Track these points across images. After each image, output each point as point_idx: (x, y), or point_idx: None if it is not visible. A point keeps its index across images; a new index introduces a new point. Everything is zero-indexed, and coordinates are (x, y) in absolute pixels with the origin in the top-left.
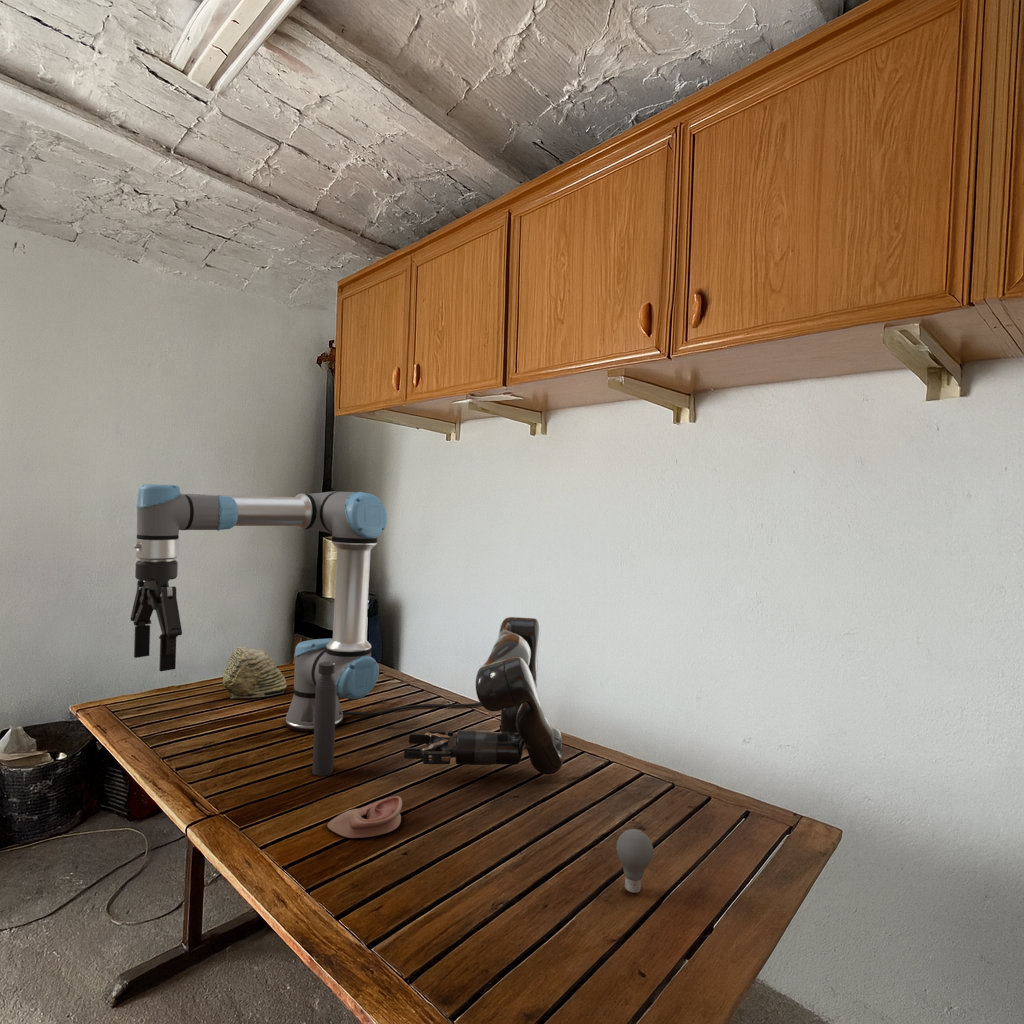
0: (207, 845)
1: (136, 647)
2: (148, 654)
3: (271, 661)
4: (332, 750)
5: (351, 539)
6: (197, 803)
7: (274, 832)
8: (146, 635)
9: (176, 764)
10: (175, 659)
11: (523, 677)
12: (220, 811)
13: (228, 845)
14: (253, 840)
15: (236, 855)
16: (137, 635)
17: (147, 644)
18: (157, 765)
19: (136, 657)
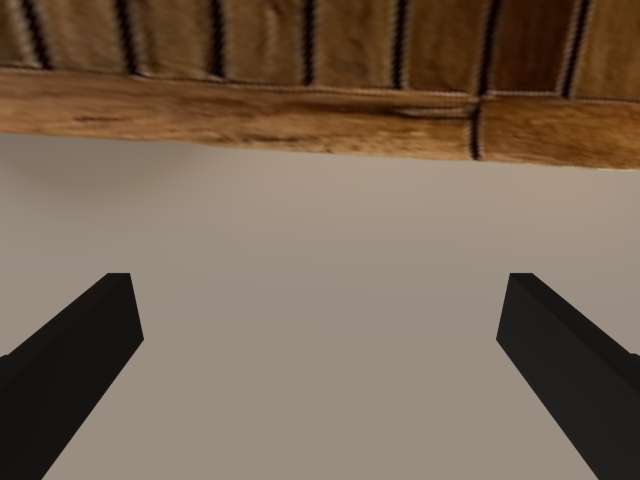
0: (561, 164)
1: (110, 378)
2: (127, 282)
3: None
4: None
5: None
6: (408, 111)
7: (631, 53)
8: (39, 384)
9: (188, 63)
10: (568, 304)
11: None
12: (474, 92)
13: (592, 138)
14: (618, 98)
15: (629, 143)
16: (55, 449)
17: (88, 326)
18: (169, 99)
19: (141, 335)
